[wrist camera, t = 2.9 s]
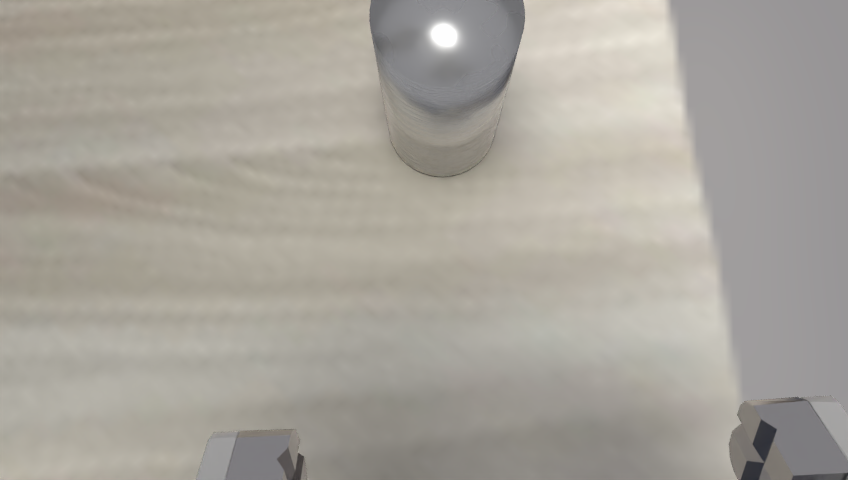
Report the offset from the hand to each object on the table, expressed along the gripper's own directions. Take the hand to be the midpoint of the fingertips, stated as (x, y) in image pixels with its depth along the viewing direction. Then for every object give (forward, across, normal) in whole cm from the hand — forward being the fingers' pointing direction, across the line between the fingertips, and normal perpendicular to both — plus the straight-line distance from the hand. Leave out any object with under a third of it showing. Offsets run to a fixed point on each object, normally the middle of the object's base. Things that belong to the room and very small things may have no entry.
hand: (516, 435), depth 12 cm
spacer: (+21, +1, +3) cm, 21 cm away
